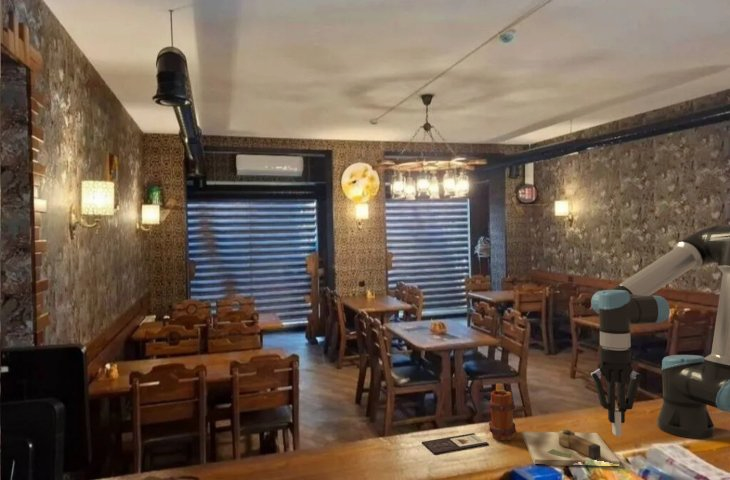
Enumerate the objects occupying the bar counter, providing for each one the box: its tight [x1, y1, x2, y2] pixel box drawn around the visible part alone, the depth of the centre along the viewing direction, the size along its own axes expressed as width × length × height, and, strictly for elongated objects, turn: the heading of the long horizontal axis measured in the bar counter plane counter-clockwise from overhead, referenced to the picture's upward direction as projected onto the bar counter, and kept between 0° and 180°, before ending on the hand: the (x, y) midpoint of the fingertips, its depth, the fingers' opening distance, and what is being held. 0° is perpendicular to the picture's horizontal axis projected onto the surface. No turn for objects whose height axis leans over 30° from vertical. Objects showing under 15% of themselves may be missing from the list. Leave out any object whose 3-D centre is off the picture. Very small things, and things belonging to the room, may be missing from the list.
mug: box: [488, 382, 517, 442], centre depth 161 cm, size 15×8×15 cm, turn 168°
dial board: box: [521, 431, 621, 467], centre depth 148 cm, size 22×20×2 cm
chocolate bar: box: [421, 432, 490, 456], centre depth 155 cm, size 9×1×18 cm
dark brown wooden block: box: [558, 429, 601, 459], centre depth 144 cm, size 13×4×4 cm, turn 22°
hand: (616, 434), depth 138 cm, fingers closed
